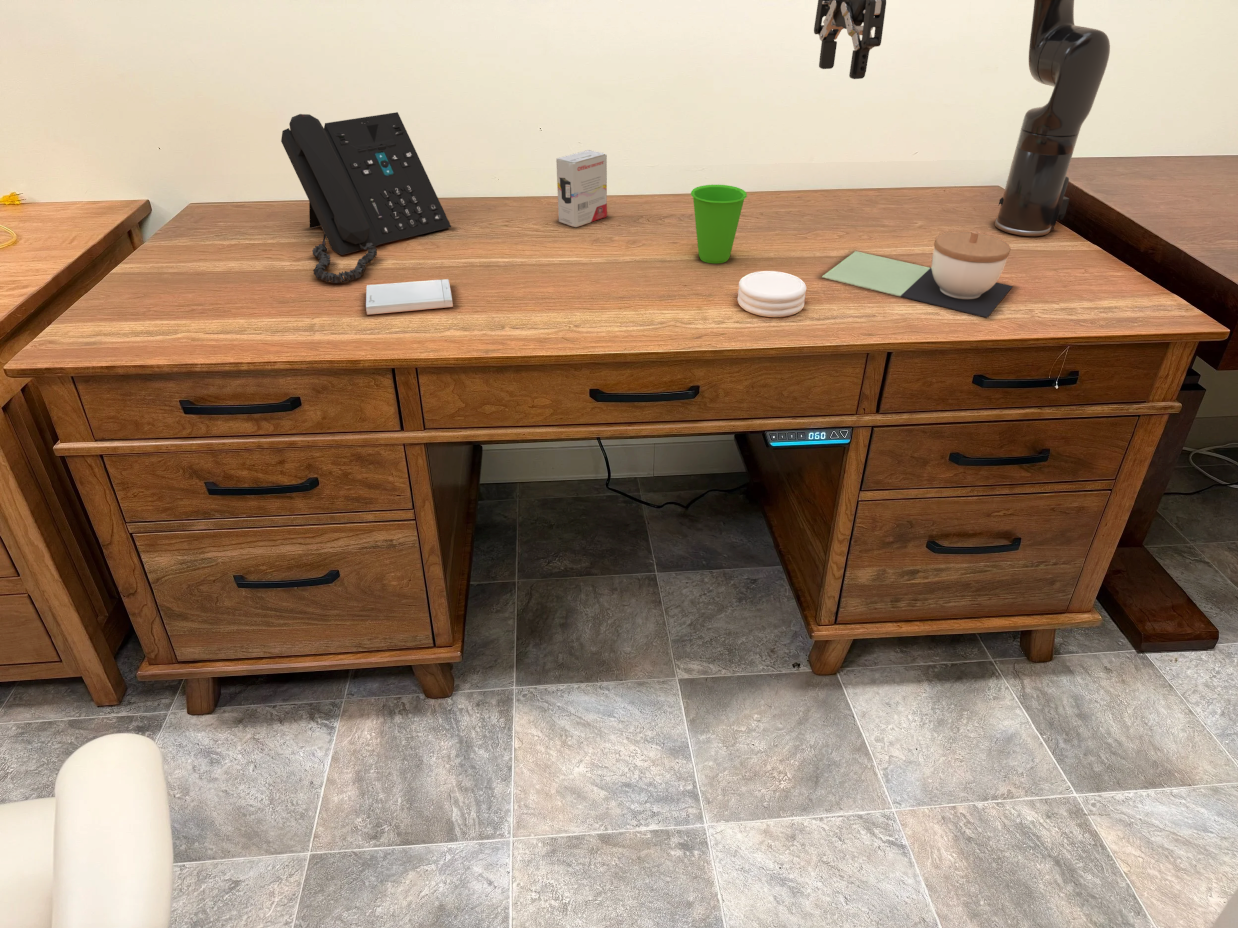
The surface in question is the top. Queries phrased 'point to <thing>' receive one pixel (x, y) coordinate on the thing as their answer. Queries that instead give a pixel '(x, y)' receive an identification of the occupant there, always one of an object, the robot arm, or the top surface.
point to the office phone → (361, 185)
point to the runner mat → (910, 283)
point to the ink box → (582, 187)
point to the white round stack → (771, 293)
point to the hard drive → (408, 296)
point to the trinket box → (968, 263)
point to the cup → (716, 220)
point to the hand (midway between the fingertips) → (840, 73)
